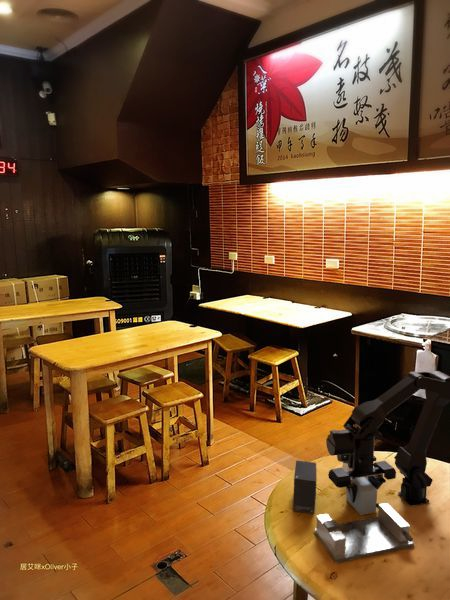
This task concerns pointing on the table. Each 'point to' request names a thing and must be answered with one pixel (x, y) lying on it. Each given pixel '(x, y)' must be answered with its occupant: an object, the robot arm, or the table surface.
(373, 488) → the block
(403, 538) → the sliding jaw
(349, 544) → the vise
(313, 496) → the small box
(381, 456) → the table surface
